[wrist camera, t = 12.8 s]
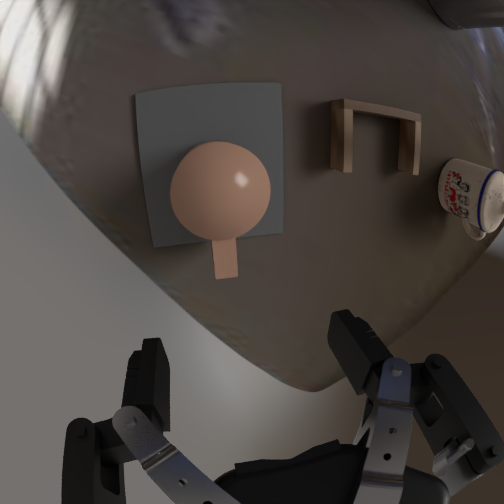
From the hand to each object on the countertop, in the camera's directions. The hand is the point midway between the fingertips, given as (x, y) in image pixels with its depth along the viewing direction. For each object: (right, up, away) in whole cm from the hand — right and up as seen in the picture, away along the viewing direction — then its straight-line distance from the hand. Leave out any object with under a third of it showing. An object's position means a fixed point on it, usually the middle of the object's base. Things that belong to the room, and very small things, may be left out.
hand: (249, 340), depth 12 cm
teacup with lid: (+32, +13, +21) cm, 40 cm away
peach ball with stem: (-3, +10, +14) cm, 18 cm away
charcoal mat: (-4, +13, +13) cm, 19 cm away
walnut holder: (+14, +17, +15) cm, 27 cm away
